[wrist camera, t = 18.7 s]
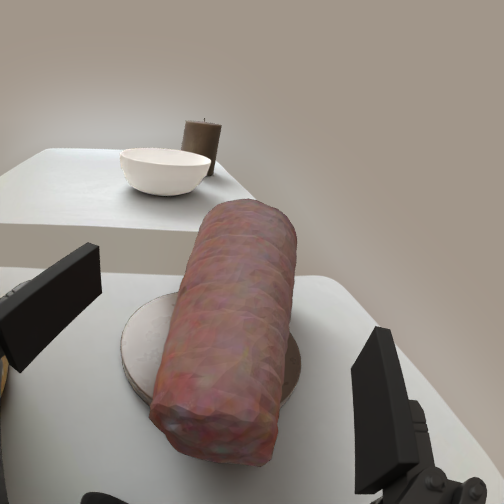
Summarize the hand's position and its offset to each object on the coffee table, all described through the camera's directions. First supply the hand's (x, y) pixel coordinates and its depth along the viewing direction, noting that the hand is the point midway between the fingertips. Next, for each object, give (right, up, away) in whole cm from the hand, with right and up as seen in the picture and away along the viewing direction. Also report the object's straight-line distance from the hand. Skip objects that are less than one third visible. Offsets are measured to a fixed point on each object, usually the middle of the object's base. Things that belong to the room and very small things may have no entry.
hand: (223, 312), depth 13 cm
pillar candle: (-14, +24, +64) cm, 70 cm away
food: (-2, -5, +9) cm, 10 cm away
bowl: (-17, +15, +44) cm, 50 cm away
